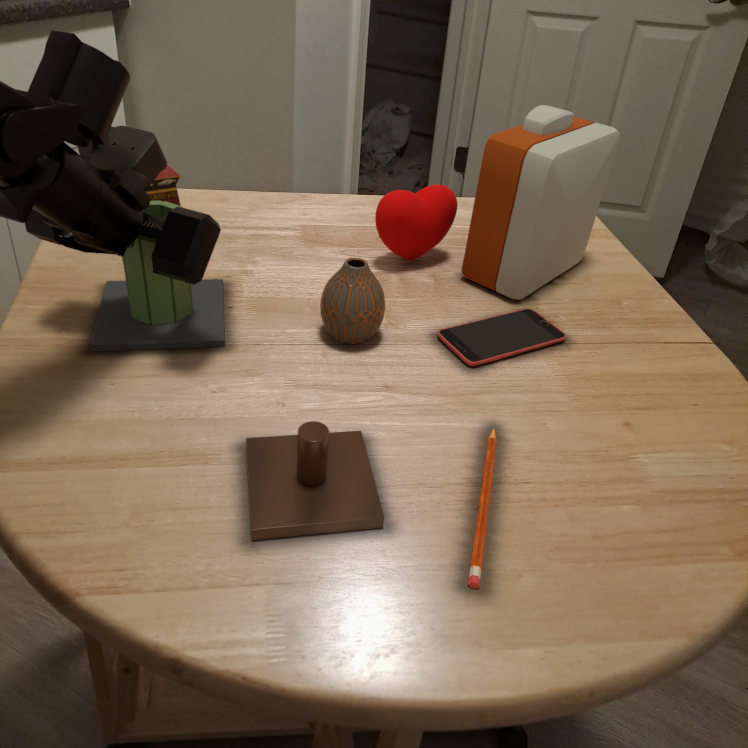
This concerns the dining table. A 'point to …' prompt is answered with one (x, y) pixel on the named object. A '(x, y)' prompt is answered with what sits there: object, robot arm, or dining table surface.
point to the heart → (415, 219)
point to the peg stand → (311, 483)
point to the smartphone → (500, 336)
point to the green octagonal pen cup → (154, 281)
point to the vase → (353, 303)
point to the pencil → (482, 513)
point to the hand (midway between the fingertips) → (165, 259)
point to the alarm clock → (537, 200)
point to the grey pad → (132, 334)
